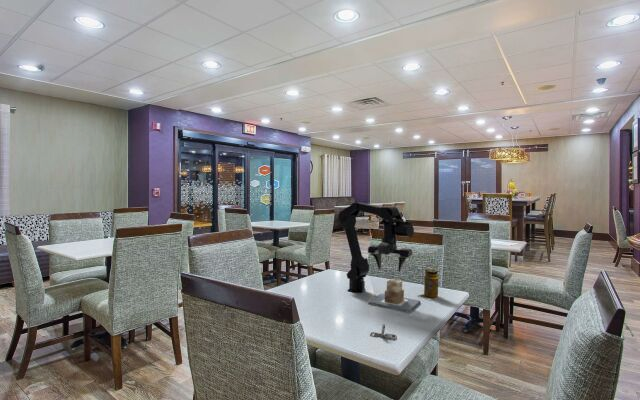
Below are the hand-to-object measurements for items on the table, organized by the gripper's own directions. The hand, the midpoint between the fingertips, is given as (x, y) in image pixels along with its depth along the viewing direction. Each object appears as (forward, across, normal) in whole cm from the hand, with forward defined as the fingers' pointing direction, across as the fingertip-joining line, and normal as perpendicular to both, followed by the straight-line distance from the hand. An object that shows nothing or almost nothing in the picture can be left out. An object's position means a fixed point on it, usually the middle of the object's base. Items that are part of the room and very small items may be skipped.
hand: (389, 270), depth 154 cm
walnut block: (+12, +4, -4) cm, 13 cm away
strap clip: (+14, +13, -38) cm, 42 cm away
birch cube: (+7, +4, -4) cm, 9 cm away
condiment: (+13, +14, +14) cm, 24 cm away
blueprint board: (+13, +4, -4) cm, 14 cm away
